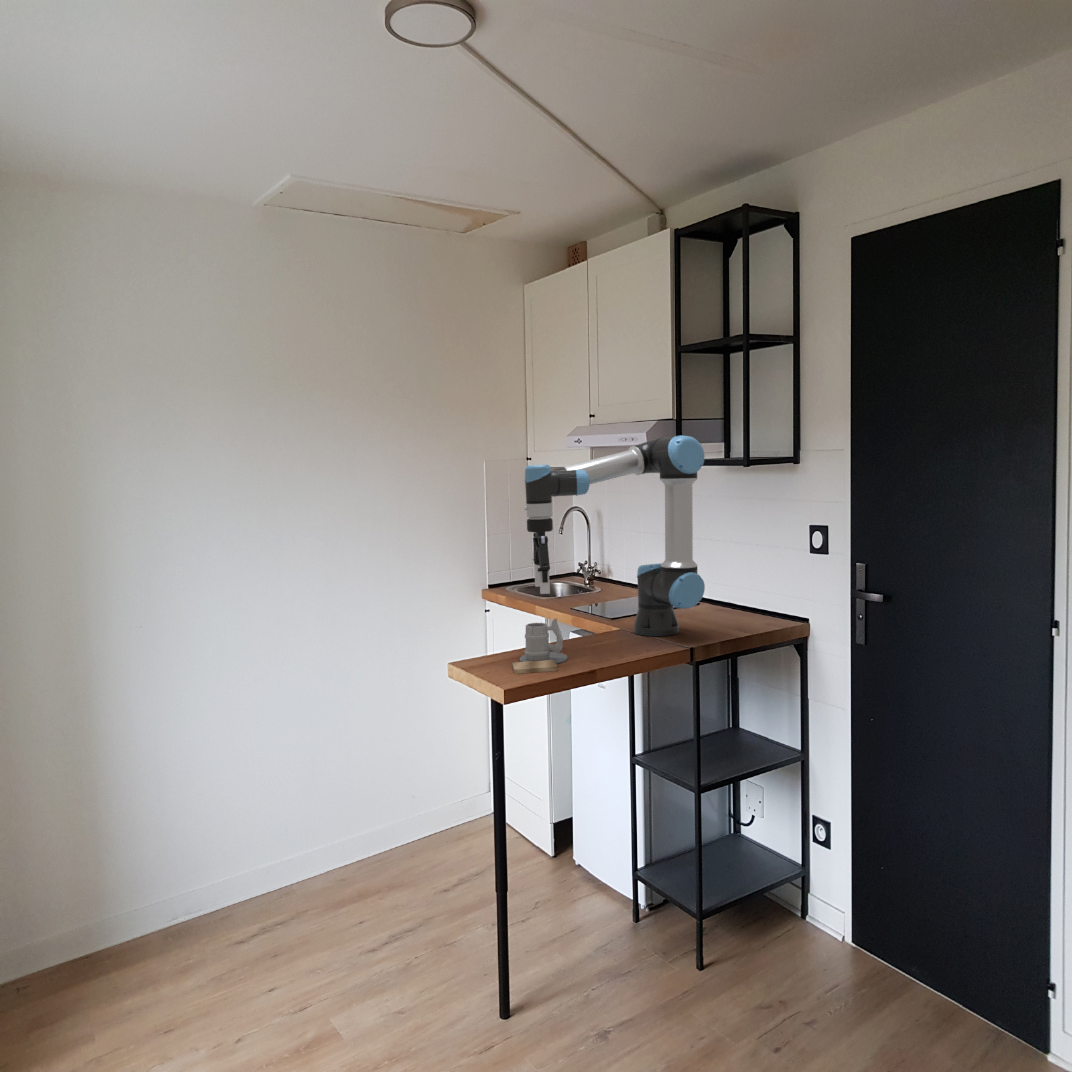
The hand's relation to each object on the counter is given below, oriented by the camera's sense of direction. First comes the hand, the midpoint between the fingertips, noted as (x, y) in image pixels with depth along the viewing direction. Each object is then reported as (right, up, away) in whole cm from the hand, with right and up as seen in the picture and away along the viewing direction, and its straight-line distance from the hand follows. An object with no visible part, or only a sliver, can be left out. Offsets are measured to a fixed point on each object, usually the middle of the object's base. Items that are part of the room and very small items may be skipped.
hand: (542, 590), depth 236 cm
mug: (+1, -20, +1) cm, 20 cm away
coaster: (0, -21, +2) cm, 21 cm away
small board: (-2, -22, -9) cm, 23 cm away
